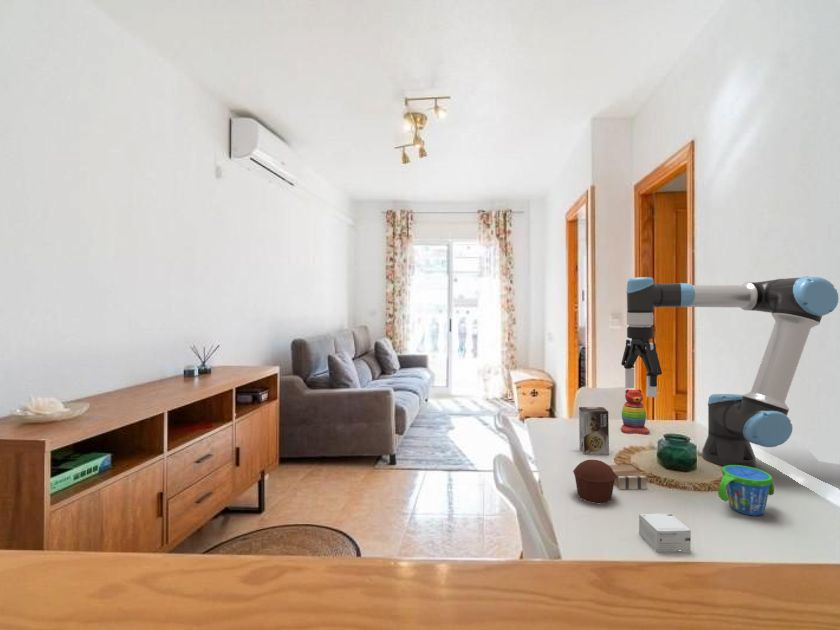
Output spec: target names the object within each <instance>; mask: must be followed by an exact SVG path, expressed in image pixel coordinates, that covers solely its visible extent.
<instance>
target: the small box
mask: <svg viewBox="0 0 840 630" xmlns="http://www.w3.org/2000/svg"><path fill="white" fill-rule="evenodd" d="M691 531H692V530H691V529H690V528H689V527H688V526H687V525H686V524H684V523H683V522H681V521H680V520H679V519H678V518H677V517H676V516H674V515H673V513H651V514H650V513H648V514H647V513H646V514H645V513H641V514H638V534H639V536H641V538H642V539H643V540H644V541H645V542H646V541H647V542H646V543H647V544H648V545H649V546H650V547H651V548H652V549H653V548H654V549H655V550H656V551H657V552H656V551H655V550H654V549H653V550H654V551H655V552H656V553H661V552H662V553H664V552H665V553H666V552H667V551H679V550H681V551H690V552H691V547H692V546H691V544H692V543H691V538H692V536H691ZM667 553H668V552H667Z"/></svg>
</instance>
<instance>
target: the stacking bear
mask: <svg viewBox="0 0 840 630" xmlns="http://www.w3.org/2000/svg"><path fill="white" fill-rule="evenodd" d="M624 393H625V394H624V396H625V397H624V399H625V400H626V402H624V405H622V410H621V419H622V423H623V424H622V426H621V427H620V431H621V432H622V433H623V434H628V435H630V434H641V435H650V434H651V431H650V430H649V429H648V428H647V427H646V421H647V414H646V410H645V407H644V404H643V403H642V401H643V399H644V397H643V394H642V390H641V389H625V392H624Z"/></svg>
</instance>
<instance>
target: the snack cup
mask: <svg viewBox="0 0 840 630" xmlns="http://www.w3.org/2000/svg"><path fill="white" fill-rule="evenodd" d="M721 473H722V476H723V477H722V478H721V481H720V483H719V488H718V491H717V495H718V497H719V500H722V501H724V502H728V504H729V506H730V507H731V509H732V510H734V511H735V512H738V513H741V514H744V515H749V516H754V517H755V516H761V515H764V513H765V511H766V507H767V501H768V497H769V496H773V495H774V493H775V486H774V480H773V477H772V475H771V474H769V473H768V472H766V471H765V470H762V469H760V468H757V467H756V468H755V467H748V466H741V465H727V466H723V467H722V468H721Z"/></svg>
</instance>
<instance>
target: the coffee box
mask: <svg viewBox="0 0 840 630" xmlns="http://www.w3.org/2000/svg"><path fill="white" fill-rule="evenodd" d="M578 422H579V424H578V426H579V427H578V429H579V430H578V431H579V436H578V437H579V440H578V441H579V444H578V445H579V450H580V451H581V453H582V452H583V453H582V454H583V455H610V435H609V433H610V431H609V426H610V425H609V411H608V410H607V409H606V408H605V407H603V406H579V407H578Z"/></svg>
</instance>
